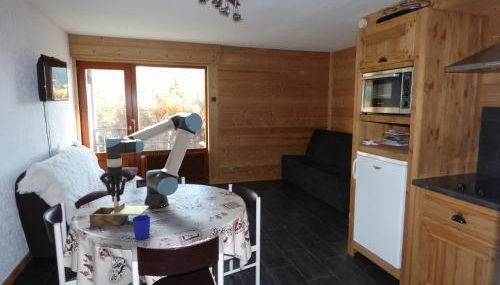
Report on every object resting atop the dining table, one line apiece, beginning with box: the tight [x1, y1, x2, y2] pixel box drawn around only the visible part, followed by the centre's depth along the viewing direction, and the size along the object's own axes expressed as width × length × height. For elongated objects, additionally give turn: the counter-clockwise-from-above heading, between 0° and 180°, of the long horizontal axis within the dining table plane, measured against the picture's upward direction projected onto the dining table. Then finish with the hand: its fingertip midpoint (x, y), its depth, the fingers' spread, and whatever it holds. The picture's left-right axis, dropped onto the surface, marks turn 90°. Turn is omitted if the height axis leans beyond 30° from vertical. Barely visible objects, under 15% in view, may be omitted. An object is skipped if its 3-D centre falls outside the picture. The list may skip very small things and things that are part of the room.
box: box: [89, 206, 130, 227], centre depth 168 cm, size 16×12×6 cm
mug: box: [132, 213, 151, 240], centre depth 151 cm, size 8×12×10 cm
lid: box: [110, 202, 150, 216], centre depth 168 cm, size 17×13×3 cm
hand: (116, 207), depth 168 cm, fingers closed
